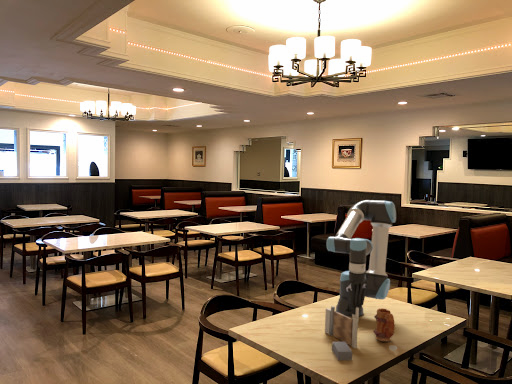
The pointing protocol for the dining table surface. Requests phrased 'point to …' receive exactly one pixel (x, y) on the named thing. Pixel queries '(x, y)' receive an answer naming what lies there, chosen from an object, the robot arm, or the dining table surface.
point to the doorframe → (330, 323)
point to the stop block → (342, 351)
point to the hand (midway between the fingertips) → (355, 320)
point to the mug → (384, 325)
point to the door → (343, 327)
